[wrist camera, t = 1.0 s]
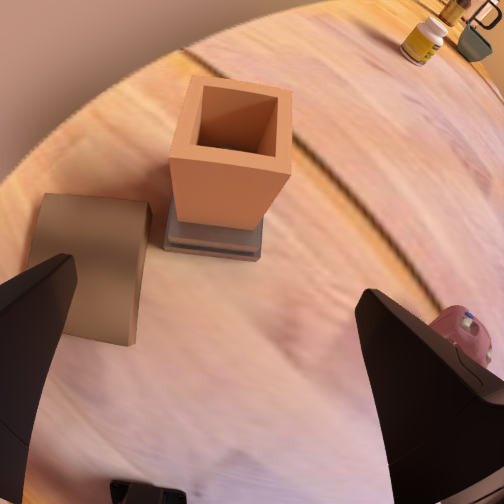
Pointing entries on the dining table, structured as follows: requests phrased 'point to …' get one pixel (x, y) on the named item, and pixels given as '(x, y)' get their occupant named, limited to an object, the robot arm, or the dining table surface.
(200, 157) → the sleeve
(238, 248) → the vise
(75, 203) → the walnut block
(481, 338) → the video game controller
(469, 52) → the flower pot
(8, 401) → the robot arm
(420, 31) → the supplement bottle
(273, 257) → the dining table surface
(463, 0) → the sauce bottle
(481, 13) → the coffee press
